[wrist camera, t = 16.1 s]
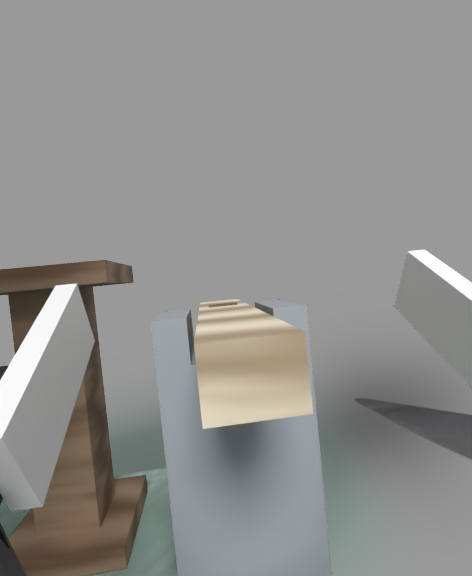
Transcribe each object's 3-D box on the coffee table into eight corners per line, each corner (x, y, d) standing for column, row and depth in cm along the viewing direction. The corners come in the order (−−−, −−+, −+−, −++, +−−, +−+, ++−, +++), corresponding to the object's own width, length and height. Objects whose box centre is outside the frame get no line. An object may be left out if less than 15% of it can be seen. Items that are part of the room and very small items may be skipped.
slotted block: (338, 647, 24) (306, 305, 23) (188, 677, 23) (150, 322, 22) (304, 555, 32) (279, 299, 31) (192, 574, 31) (164, 311, 30)
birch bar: (313, 414, 13) (305, 328, 13) (202, 429, 12) (193, 341, 12) (239, 326, 39) (236, 297, 39) (203, 330, 38) (200, 301, 38)
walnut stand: (138, 566, 32) (104, 260, 31) (-25, 594, 31) (-63, 275, 30) (155, 489, 44) (131, 266, 43) (38, 507, 43) (12, 277, 42)
